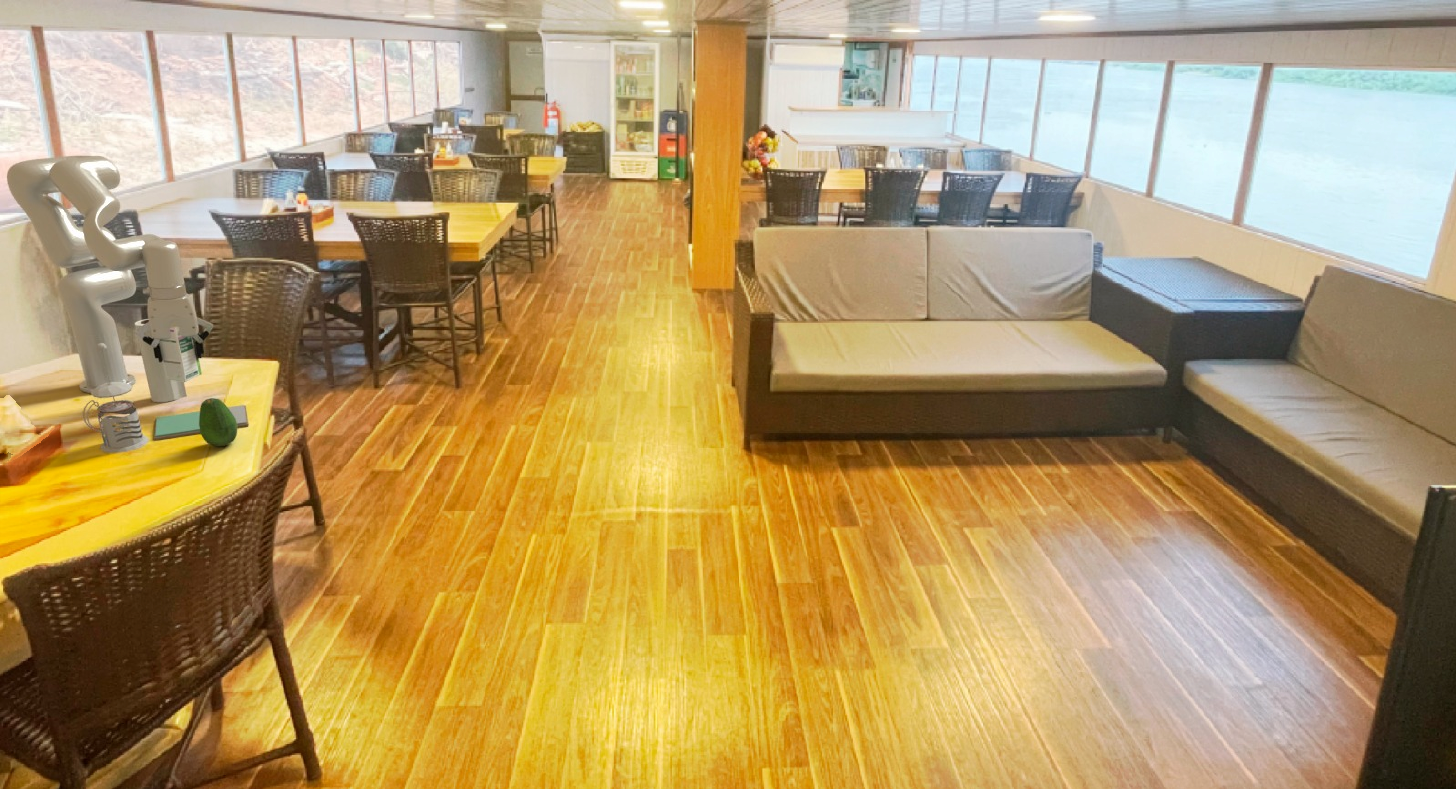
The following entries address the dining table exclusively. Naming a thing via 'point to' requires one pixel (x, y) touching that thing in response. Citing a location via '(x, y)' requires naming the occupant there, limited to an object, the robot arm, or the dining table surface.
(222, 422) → the avocado
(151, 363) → the paper towel roll
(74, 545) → the dining table surface
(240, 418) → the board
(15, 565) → the dining table surface
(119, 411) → the french press
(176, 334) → the syrup box
